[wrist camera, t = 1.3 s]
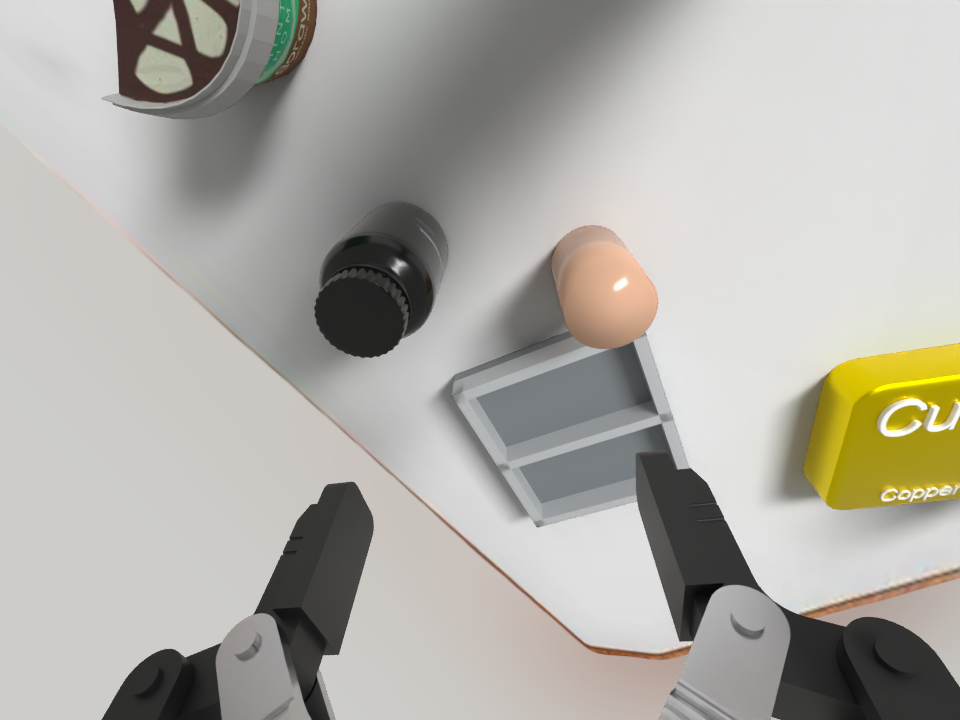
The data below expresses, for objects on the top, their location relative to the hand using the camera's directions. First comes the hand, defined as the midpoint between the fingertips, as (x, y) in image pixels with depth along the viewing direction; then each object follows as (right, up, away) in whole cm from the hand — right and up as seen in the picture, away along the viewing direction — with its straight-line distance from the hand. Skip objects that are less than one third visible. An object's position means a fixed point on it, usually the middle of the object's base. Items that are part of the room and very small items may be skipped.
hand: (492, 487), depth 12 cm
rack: (+9, -2, +29) cm, 30 cm away
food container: (-12, +24, +13) cm, 30 cm away
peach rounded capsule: (+8, +11, +20) cm, 24 cm away
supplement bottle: (-6, +12, +20) cm, 25 cm away
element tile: (+38, -1, +28) cm, 47 cm away
